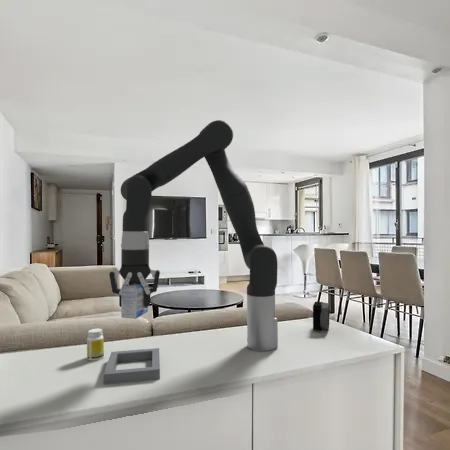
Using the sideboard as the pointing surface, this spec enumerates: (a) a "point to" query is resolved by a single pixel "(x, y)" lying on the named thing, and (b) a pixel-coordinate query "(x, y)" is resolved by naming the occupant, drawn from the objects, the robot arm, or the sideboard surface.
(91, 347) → the supplement bottle
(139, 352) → the block
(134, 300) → the medicine box
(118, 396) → the sideboard surface
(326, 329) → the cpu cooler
